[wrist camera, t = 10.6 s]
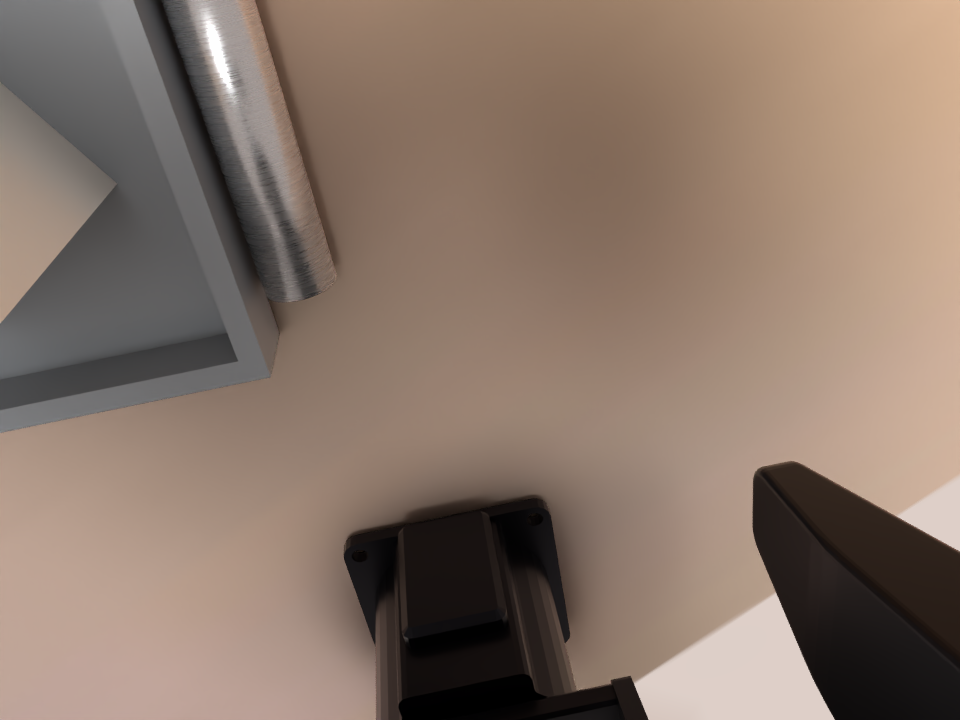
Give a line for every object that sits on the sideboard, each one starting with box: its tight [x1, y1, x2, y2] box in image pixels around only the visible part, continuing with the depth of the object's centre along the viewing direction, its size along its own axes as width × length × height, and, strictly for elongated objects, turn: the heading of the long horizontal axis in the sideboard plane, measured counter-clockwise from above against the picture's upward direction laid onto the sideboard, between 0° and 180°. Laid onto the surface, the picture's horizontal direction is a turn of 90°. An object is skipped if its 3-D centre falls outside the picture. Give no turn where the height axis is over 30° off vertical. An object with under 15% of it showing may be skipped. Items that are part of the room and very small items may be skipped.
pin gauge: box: [161, 0, 337, 302], centre depth 17 cm, size 10×2×2 cm
